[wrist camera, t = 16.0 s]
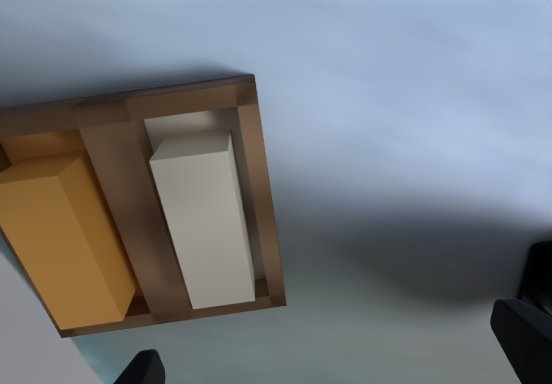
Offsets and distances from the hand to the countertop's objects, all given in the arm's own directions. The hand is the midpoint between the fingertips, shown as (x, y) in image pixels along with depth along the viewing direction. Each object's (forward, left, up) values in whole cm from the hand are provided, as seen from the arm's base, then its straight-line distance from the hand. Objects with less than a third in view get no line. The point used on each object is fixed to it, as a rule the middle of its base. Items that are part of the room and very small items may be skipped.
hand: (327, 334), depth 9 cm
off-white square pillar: (-2, +4, -12) cm, 13 cm away
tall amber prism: (-2, +12, -12) cm, 17 cm away
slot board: (-2, +8, -12) cm, 15 cm away
